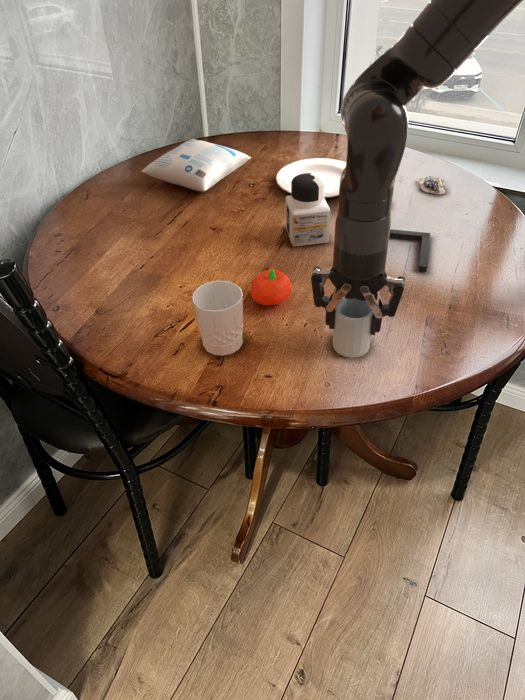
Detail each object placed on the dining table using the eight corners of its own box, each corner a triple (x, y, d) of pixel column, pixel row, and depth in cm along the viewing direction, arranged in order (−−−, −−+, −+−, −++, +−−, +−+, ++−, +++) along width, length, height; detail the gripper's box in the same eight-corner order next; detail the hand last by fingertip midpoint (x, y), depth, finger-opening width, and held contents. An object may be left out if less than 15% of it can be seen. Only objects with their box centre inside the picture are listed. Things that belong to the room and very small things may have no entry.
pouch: (201, 173, 121) (249, 138, 132) (137, 159, 129) (188, 127, 141) (207, 205, 126) (252, 168, 138) (145, 190, 134) (193, 156, 146)
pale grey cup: (371, 335, 91) (376, 298, 85) (367, 360, 87) (371, 322, 81) (335, 330, 92) (338, 293, 87) (329, 354, 88) (332, 316, 82)
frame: (429, 238, 112) (430, 232, 111) (426, 272, 103) (427, 266, 102) (361, 231, 115) (361, 226, 114) (353, 263, 106) (353, 258, 105)
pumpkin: (241, 302, 99) (239, 273, 94) (270, 282, 103) (269, 253, 98) (271, 318, 95) (270, 289, 91) (299, 296, 99) (300, 267, 95)
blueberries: (437, 177, 131) (439, 170, 130) (454, 192, 126) (456, 184, 124) (412, 182, 130) (413, 174, 129) (428, 197, 125) (430, 189, 123)
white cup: (212, 323, 95) (206, 276, 88) (253, 333, 92) (250, 286, 86) (191, 352, 90) (183, 304, 83) (234, 363, 87) (229, 315, 80)
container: (292, 247, 111) (292, 188, 103) (285, 228, 117) (284, 171, 108) (329, 243, 112) (332, 184, 103) (320, 224, 118) (322, 167, 109)
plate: (340, 212, 121) (341, 204, 120) (260, 193, 129) (260, 185, 128) (374, 174, 134) (375, 166, 133) (299, 159, 142) (299, 152, 141)
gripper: (305, 247, 74) (304, 337, 86) (412, 258, 71) (396, 351, 83) (315, 219, 80) (313, 308, 91) (415, 229, 76) (400, 320, 88)
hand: (352, 328), depth 87 cm, fingers closed on pale grey cup, 6 cm apart
